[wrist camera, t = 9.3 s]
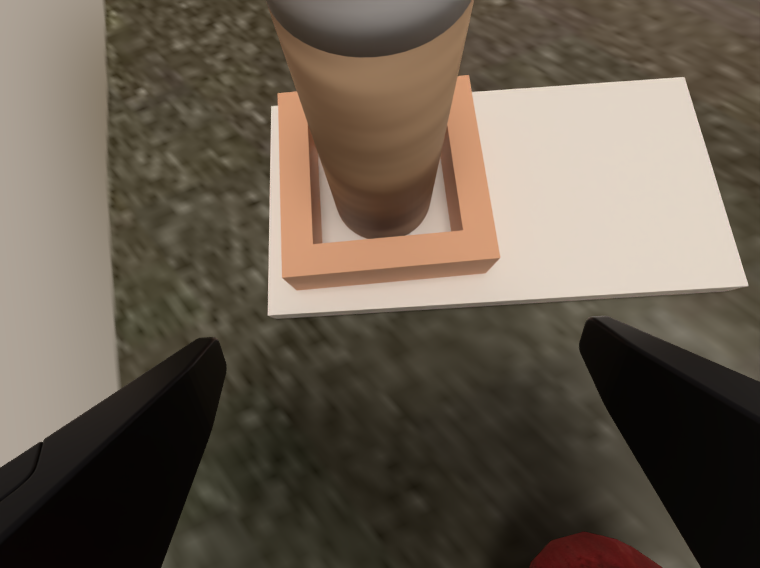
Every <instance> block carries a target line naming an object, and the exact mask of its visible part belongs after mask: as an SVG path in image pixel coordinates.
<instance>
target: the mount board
mask: <svg viewBox="0 0 760 568" xmlns="http://www.w3.org/2000/svg"><path fill="white" fill-rule="evenodd" d="M472 96H473V102H474V108H475V114H476V120H477V125H478V131H479V137H480V143H481V148H482V154H483V160H484V166H485V171H486V177H487V183H488V189H489V195H490V200H491V206H492V212H493V218H494V223H495V229H496V235H497V241H498V247H499V252H500V259H499V260H498V261H497V262H496V263H495V264H494V265H493V266H492V267H491V268H490V269H489V270H488V271H487V272H486V273H484V274H473V275H462V276H451V277H440V278H429V279H418V280H407V281H396V282H385V283H374V284H363V285H352V286H341V287H330V288H319V289H308V290H295V289H294V288H293V287H292V286H291V285H290V284H289V283H287V282H286V281H285V280H284V279H283V278H282V260H281V214H280V168H279V123H278V106H271V161H270V220H269V279H268V316H270V317H272V318H275V319H283V318H299V317H316V316H332V315H348V314H365V313H381V312H397V311H414V310H430V309H446V308H463V307H479V306H495V305H512V304H528V303H544V302H561V301H577V300H593V299H610V298H626V297H642V296H659V295H675V294H691V293H708V292H724V291H730V290H734V289H738V288H742V287H746V286H748V283H747V279H746V276H745V273H744V270H743V266H742V263H741V260H740V257H739V253H738V250H737V247H736V244H735V240H734V237H733V234H732V231H731V227H730V224H729V221H728V218H727V214H726V211H725V208H724V205H723V201H722V198H721V195H720V192H719V188H718V185H717V182H716V179H715V175H714V172H713V169H712V166H711V162H710V159H709V156H708V153H707V149H706V146H705V143H704V140H703V136H702V133H701V130H700V127H699V123H698V120H697V117H696V114H695V110H694V107H693V104H692V101H691V97H690V94H689V91H688V88H687V84H686V81H685V78H684V77H679V78H665V79H651V80H637V81H623V82H609V83H595V84H580V85H566V86H552V87H538V88H524V89H510V90H496V91H481V92H472ZM318 166H319V185H320V205H321V225H322V243H331V242H341V241H352V240H363V239H366V238H364V237H361V236H359V235H357V234H356V233H354V232H353V231H352V230H350V229H349V228H348V227H347V226H346V225H345V223H344V222H343V221H342V219H341V217H340V216H339V213H338V211H337V208H336V205H335V202H334V199H333V196H332V193H331V190H330V187H329V184H328V181H327V178H326V175H325V173H324V170H323V167H322V164H321V161H320V158H319V155H318ZM450 231H451V227H450V220H449V213H448V206H447V199H446V192H445V185H444V178H443V171H442V164H441V157H440V160H439V165H438V170H437V174H436V179H435V184H434V188H433V193H432V197H431V202H430V206H429V210H428V212H427V215H426V217H425V218H424V220H423V221H422V223H421V224H420V225H419V226H418V227H417V228H416V229H415V230H414V231H412V232H411V233H409V234H407V235H418V234H429V233H439V232H450ZM407 235H406V236H407Z"/></svg>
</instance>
